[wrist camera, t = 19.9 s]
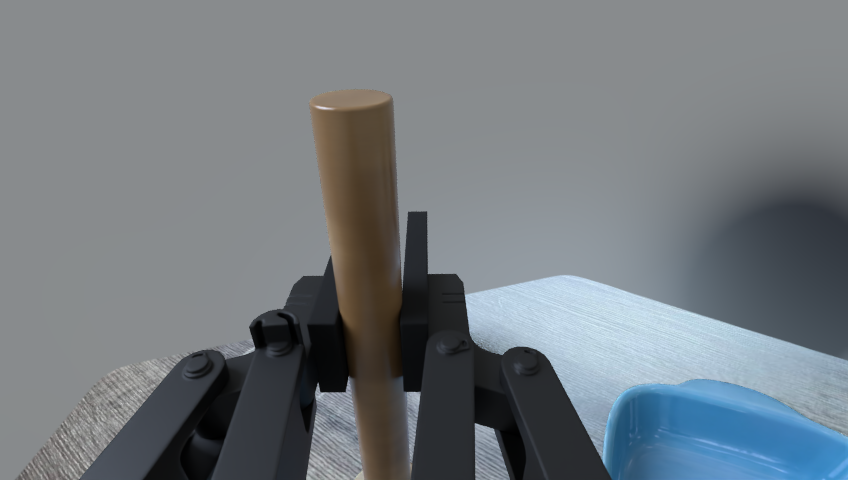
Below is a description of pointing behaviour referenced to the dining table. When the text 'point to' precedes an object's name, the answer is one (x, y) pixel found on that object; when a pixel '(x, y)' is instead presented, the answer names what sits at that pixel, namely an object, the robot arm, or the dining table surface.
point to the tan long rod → (366, 266)
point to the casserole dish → (716, 436)
